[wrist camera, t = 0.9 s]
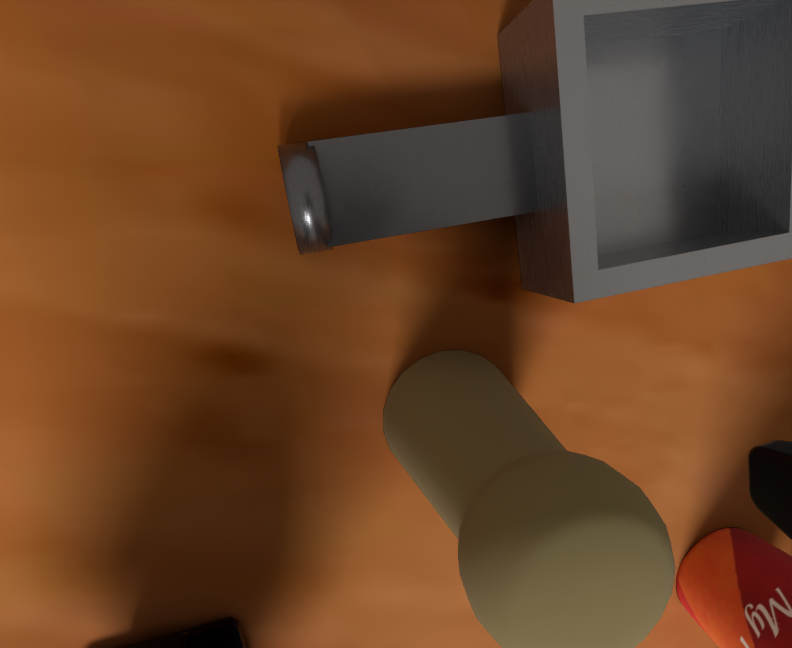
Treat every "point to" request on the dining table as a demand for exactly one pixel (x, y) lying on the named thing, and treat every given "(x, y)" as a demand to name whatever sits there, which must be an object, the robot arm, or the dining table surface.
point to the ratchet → (590, 150)
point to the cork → (528, 512)
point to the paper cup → (738, 590)
